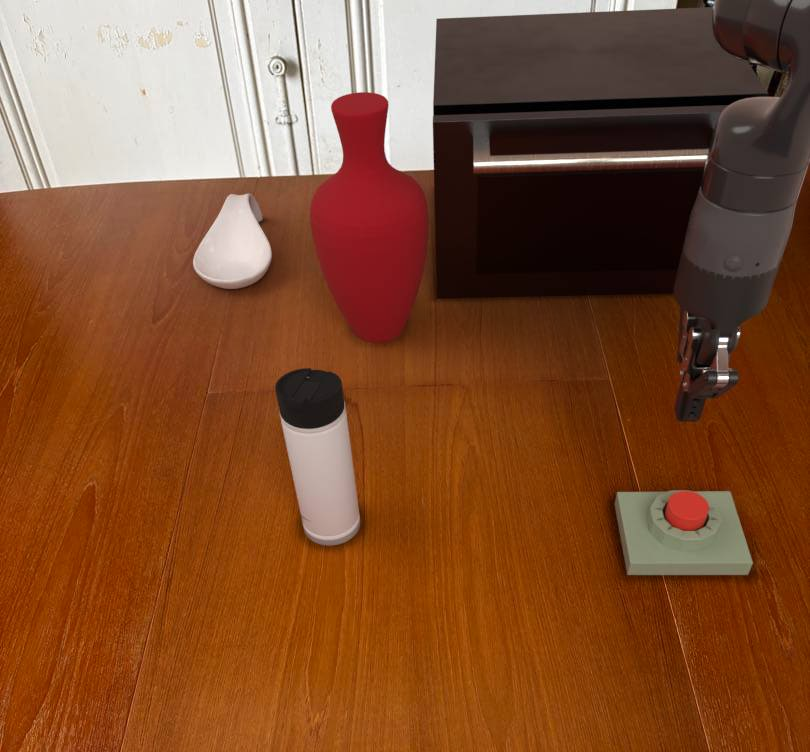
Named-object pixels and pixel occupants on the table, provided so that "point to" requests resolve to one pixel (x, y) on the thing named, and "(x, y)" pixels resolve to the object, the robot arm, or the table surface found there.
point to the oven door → (566, 200)
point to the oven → (585, 63)
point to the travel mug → (319, 453)
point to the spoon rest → (234, 246)
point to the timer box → (681, 537)
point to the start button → (687, 510)
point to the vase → (369, 225)
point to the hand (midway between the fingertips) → (686, 416)
